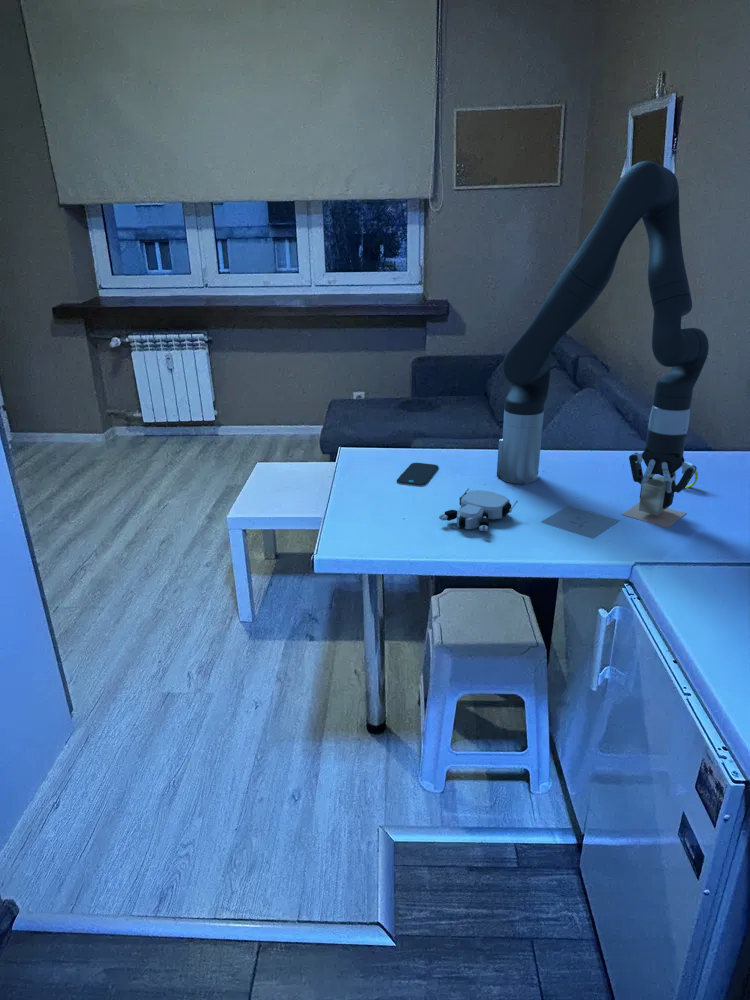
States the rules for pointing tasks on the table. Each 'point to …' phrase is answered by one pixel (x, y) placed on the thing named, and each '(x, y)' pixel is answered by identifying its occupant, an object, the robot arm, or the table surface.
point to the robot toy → (479, 509)
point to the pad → (655, 516)
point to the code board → (580, 521)
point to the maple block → (653, 496)
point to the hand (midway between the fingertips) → (655, 504)
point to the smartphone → (417, 474)
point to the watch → (695, 477)
